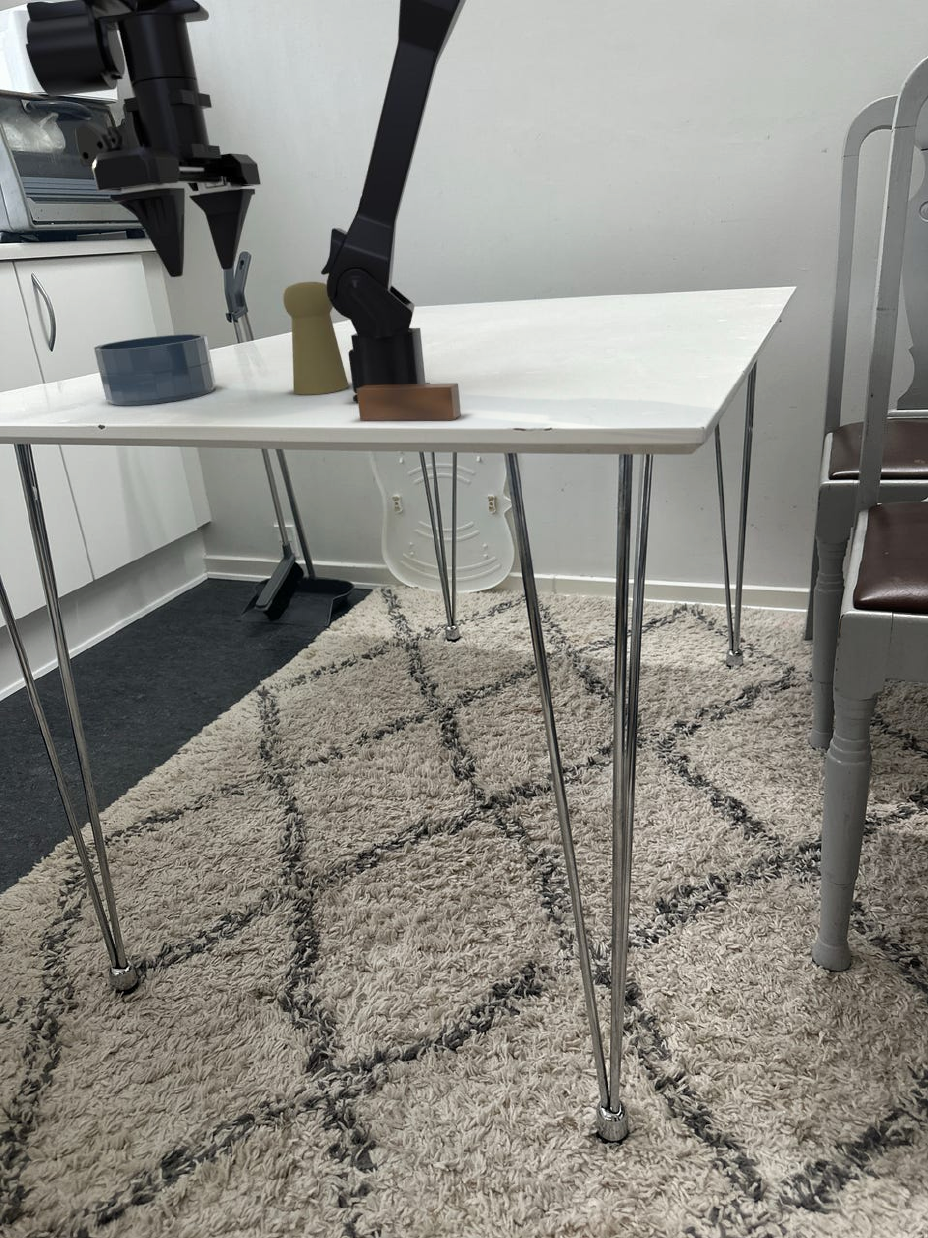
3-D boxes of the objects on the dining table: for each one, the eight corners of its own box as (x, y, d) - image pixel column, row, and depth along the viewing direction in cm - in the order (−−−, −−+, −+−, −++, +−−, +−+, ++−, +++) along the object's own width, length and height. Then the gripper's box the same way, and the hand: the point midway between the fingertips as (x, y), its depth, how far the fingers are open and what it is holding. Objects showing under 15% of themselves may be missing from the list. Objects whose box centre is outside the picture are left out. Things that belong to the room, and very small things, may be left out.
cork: (338, 393, 94) (322, 282, 90) (284, 395, 95) (267, 286, 91) (356, 383, 99) (342, 277, 95) (305, 385, 101) (290, 282, 96)
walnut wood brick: (461, 415, 78) (458, 382, 76) (453, 420, 76) (450, 386, 75) (369, 416, 81) (365, 384, 80) (360, 420, 79) (355, 388, 78)
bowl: (233, 383, 107) (224, 331, 104) (183, 403, 96) (172, 346, 94) (143, 388, 110) (132, 337, 107) (84, 408, 99) (70, 352, 96)
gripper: (147, 105, 89) (183, 272, 95) (15, 86, 73) (68, 289, 79) (246, 89, 86) (277, 263, 92) (130, 64, 69) (177, 278, 76)
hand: (203, 272), depth 85 cm, fingers open, 9 cm apart
